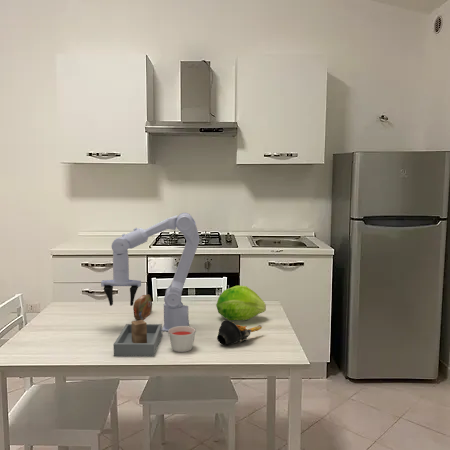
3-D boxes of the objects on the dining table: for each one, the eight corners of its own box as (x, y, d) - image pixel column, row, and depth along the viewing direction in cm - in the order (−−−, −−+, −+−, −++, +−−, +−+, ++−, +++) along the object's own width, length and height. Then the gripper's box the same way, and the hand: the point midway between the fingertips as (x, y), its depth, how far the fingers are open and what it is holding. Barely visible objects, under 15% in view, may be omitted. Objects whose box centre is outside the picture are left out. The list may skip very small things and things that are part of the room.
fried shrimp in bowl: (206, 330, 164) (237, 304, 176) (222, 357, 165) (252, 329, 177) (223, 327, 157) (254, 300, 169) (239, 355, 158) (269, 326, 170)
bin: (161, 334, 173) (161, 324, 172) (153, 356, 153) (153, 344, 152) (126, 334, 173) (126, 323, 172) (113, 356, 153) (113, 344, 152)
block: (142, 339, 165) (142, 319, 165) (146, 342, 162) (146, 323, 161) (131, 341, 163) (131, 321, 163) (135, 344, 160) (135, 324, 159)
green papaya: (265, 326, 182) (266, 292, 181) (213, 325, 184) (214, 291, 182) (265, 314, 198) (266, 282, 196) (217, 313, 199) (217, 281, 198)
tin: (139, 323, 186) (139, 302, 185) (132, 322, 187) (131, 301, 186) (152, 311, 201) (152, 292, 200) (145, 311, 201) (145, 292, 200)
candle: (191, 342, 166) (191, 324, 165) (198, 351, 157) (198, 333, 156) (166, 345, 163) (166, 327, 162) (171, 355, 154) (171, 336, 154)
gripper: (142, 267, 180) (142, 302, 181) (104, 267, 180) (104, 301, 181) (139, 271, 173) (139, 307, 174) (99, 271, 173) (100, 307, 174)
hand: (121, 305), depth 177 cm, fingers open, 7 cm apart
